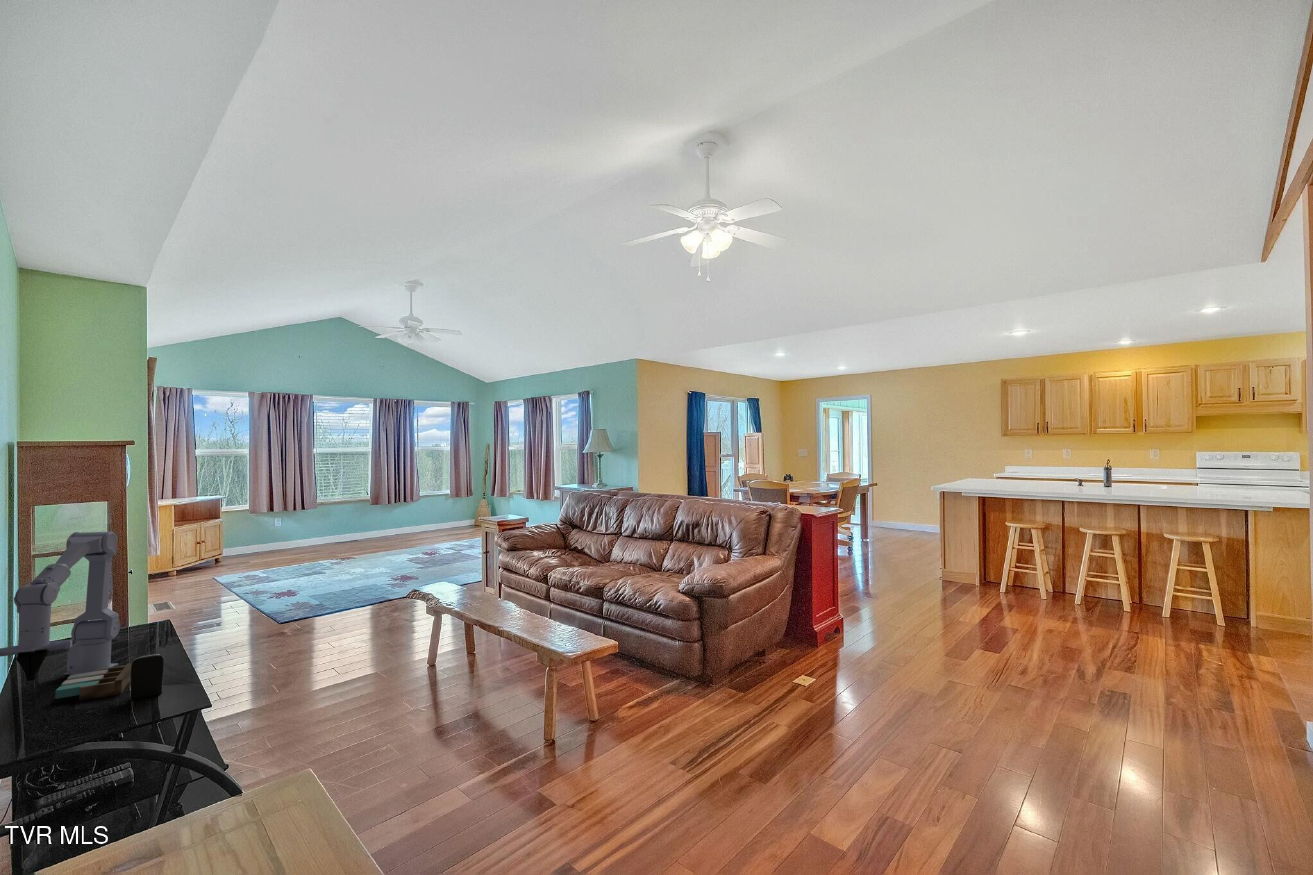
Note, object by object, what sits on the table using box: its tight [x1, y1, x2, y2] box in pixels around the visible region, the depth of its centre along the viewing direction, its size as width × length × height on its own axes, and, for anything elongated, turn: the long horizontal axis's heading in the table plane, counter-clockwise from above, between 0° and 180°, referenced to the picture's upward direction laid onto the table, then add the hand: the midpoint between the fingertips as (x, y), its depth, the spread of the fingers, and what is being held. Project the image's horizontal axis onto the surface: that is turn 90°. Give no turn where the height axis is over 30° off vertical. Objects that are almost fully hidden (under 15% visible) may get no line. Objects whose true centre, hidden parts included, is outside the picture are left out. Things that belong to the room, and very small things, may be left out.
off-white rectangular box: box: [60, 675, 104, 686], centre depth 160 cm, size 8×3×2 cm, turn 124°
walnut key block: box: [78, 662, 132, 701], centre depth 163 cm, size 8×16×4 cm, turn 34°
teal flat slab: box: [54, 681, 99, 700], centre depth 156 cm, size 8×3×2 cm, turn 124°
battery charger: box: [129, 652, 165, 701], centre depth 158 cm, size 7×4×11 cm, turn 133°
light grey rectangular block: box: [66, 670, 108, 680], centre depth 164 cm, size 8×3×2 cm, turn 124°
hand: (31, 679), depth 151 cm, fingers closed
